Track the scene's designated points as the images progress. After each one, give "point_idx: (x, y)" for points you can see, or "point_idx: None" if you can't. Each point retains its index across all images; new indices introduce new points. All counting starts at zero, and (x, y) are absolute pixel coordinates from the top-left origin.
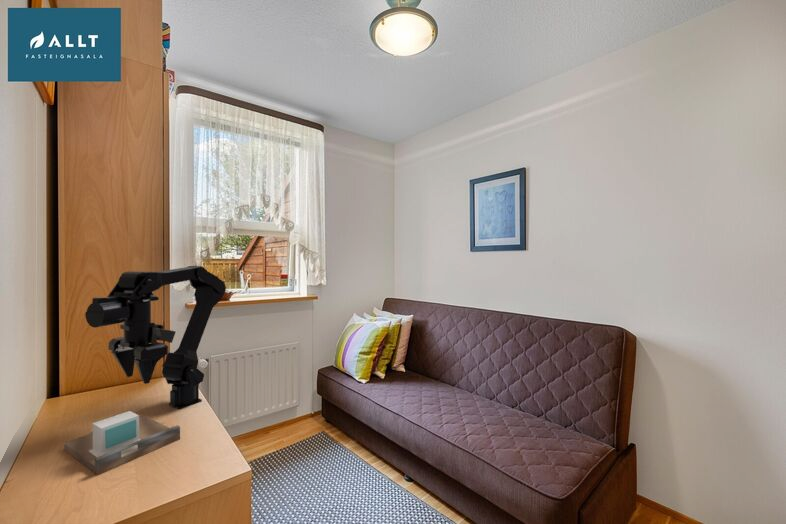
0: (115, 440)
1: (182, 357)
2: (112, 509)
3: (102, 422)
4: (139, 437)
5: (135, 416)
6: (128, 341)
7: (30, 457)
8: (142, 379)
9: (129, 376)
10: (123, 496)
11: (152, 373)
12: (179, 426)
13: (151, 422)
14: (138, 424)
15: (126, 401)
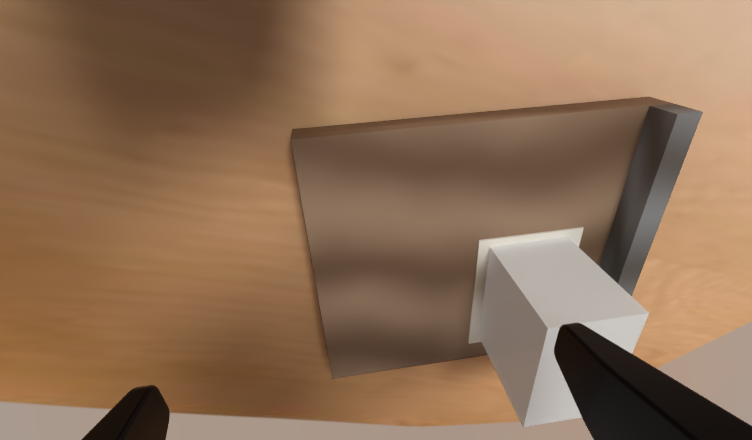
0: None
1: None
2: (729, 319)
3: (555, 407)
4: (534, 226)
5: (640, 324)
6: None
7: (302, 405)
8: (587, 411)
9: (166, 406)
10: (717, 299)
11: (704, 399)
12: (700, 114)
13: (434, 146)
14: (615, 284)
15: None
